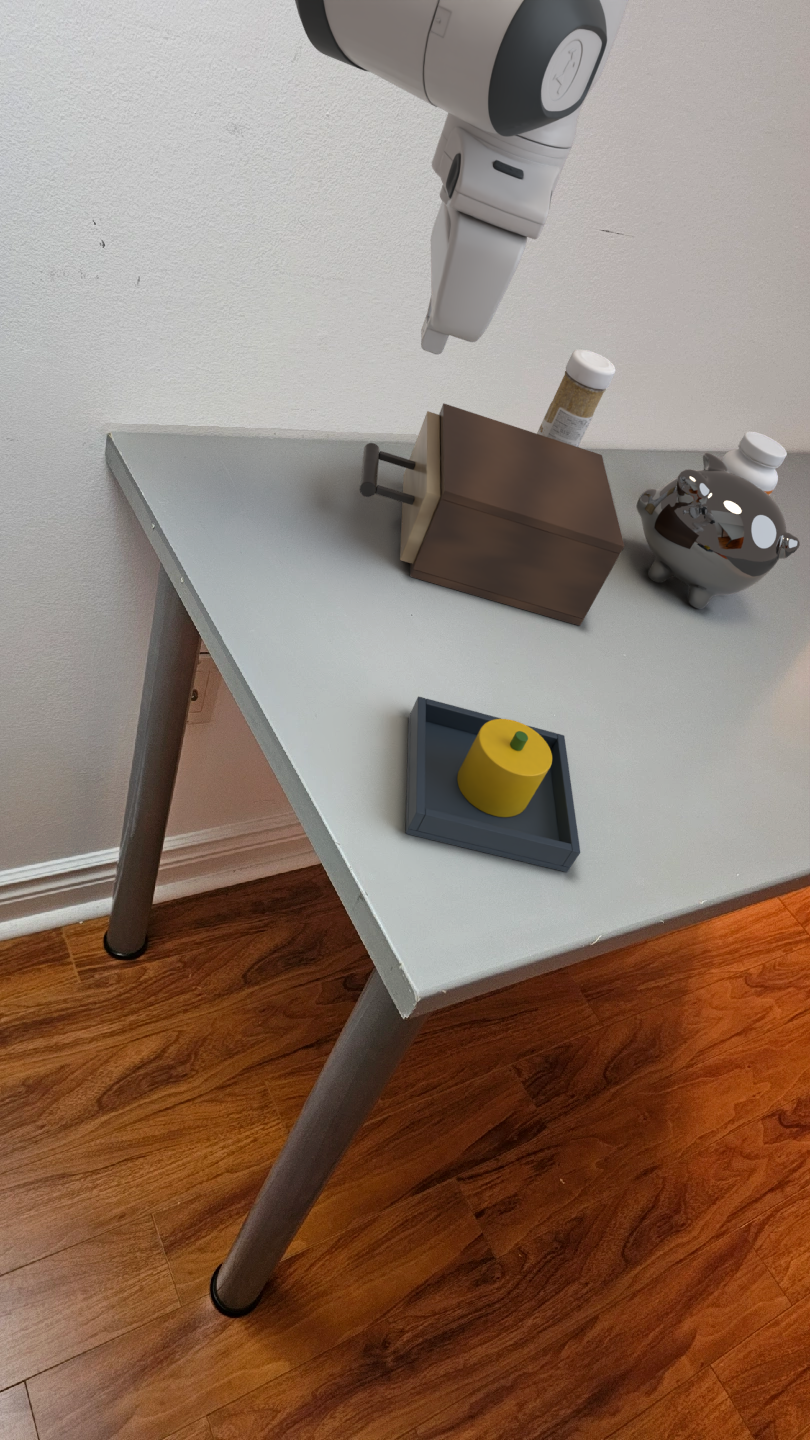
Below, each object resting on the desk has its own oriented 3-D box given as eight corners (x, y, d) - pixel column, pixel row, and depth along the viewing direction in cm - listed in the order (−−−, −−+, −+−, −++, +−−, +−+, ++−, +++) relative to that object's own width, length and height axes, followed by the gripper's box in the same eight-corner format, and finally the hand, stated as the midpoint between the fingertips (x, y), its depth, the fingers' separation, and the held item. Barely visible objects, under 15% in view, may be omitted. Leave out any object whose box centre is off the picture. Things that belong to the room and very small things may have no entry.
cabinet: (409, 576, 89) (444, 490, 83) (412, 484, 100) (443, 402, 95) (580, 626, 92) (624, 546, 86) (563, 530, 103) (602, 454, 98)
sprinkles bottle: (524, 461, 112) (578, 342, 103) (563, 479, 111) (620, 362, 103) (514, 477, 108) (569, 356, 100) (555, 496, 108) (613, 376, 99)
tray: (405, 833, 67) (416, 812, 66) (408, 716, 75) (417, 695, 74) (567, 872, 69) (580, 852, 68) (552, 754, 78) (564, 734, 76)
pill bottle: (736, 558, 111) (794, 468, 104) (682, 533, 111) (737, 441, 104) (738, 532, 116) (794, 445, 109) (687, 509, 116) (740, 420, 109)
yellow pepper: (457, 807, 70) (486, 753, 66) (456, 753, 74) (483, 699, 70) (530, 825, 71) (562, 773, 67) (525, 771, 75) (555, 719, 71)
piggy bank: (636, 524, 109) (690, 426, 102) (762, 602, 106) (828, 506, 99) (594, 559, 101) (650, 455, 94) (730, 644, 98) (799, 543, 90)
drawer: (345, 544, 87) (370, 474, 83) (355, 460, 98) (377, 394, 94) (559, 607, 91) (593, 543, 87) (546, 519, 102) (575, 458, 97)
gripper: (452, 112, 82) (395, 284, 91) (459, 188, 67) (389, 387, 75) (527, 142, 83) (463, 309, 92) (551, 224, 68) (471, 415, 77)
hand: (430, 345), depth 83 cm, fingers closed
